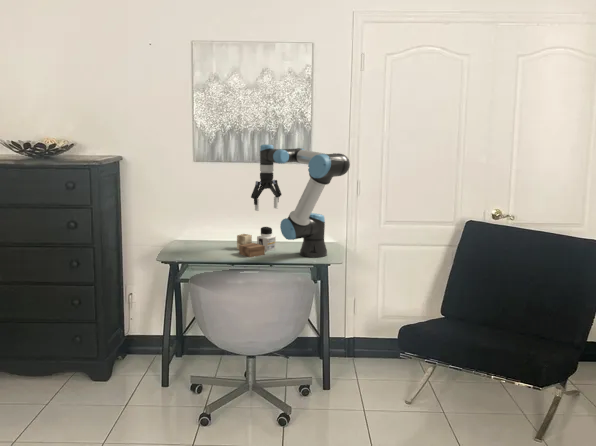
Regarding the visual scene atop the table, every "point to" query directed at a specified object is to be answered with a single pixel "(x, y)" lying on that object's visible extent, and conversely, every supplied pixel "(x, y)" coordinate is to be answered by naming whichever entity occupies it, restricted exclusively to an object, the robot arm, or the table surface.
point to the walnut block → (251, 249)
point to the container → (267, 239)
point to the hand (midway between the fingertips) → (266, 209)
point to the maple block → (243, 239)
